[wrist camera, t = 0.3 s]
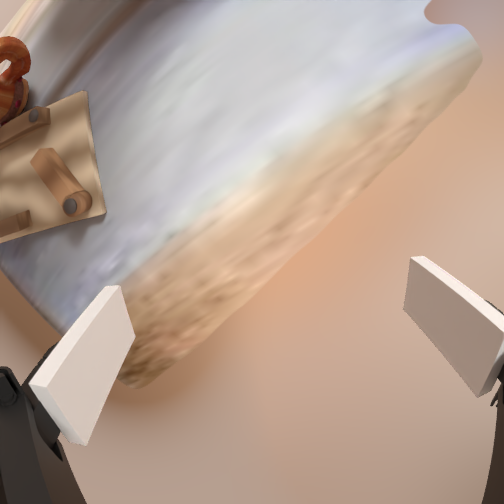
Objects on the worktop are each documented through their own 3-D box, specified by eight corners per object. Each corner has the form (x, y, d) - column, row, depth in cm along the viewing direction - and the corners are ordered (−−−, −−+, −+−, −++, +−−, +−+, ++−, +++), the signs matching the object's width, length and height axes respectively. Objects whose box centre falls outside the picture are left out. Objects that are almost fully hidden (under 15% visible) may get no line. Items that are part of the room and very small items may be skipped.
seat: (-15, 145, 32) (-35, 147, 27) (87, 91, 32) (68, 86, 27) (3, 241, 38) (-15, 251, 33) (106, 212, 38) (90, 221, 33)
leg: (96, 201, 36) (82, 207, 32) (83, 215, 36) (70, 222, 33) (53, 146, 33) (38, 147, 29) (42, 161, 33) (27, 163, 30)
